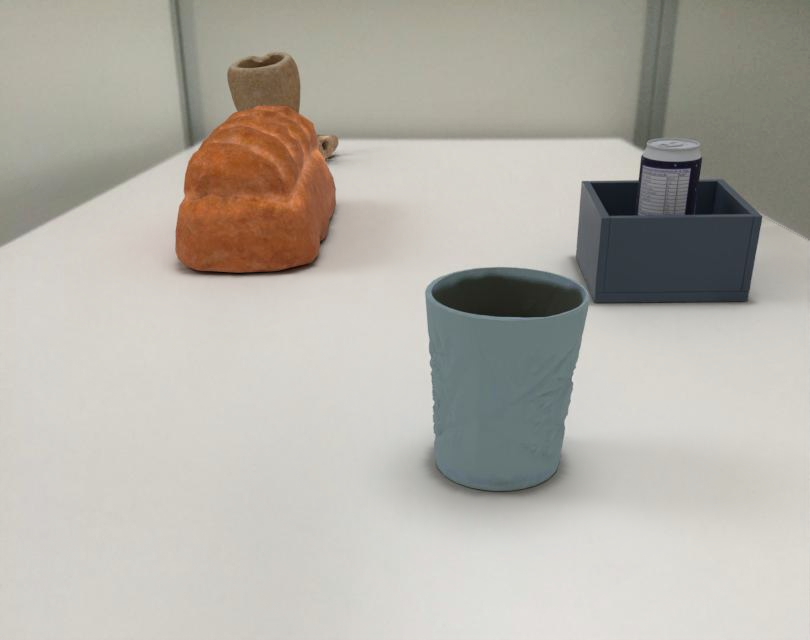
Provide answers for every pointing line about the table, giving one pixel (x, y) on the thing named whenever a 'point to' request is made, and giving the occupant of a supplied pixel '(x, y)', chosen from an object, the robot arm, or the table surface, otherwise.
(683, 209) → the beverage can
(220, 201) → the bread
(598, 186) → the bin
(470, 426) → the teal cup
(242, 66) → the stone cup
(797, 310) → the table surface
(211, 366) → the table surface
